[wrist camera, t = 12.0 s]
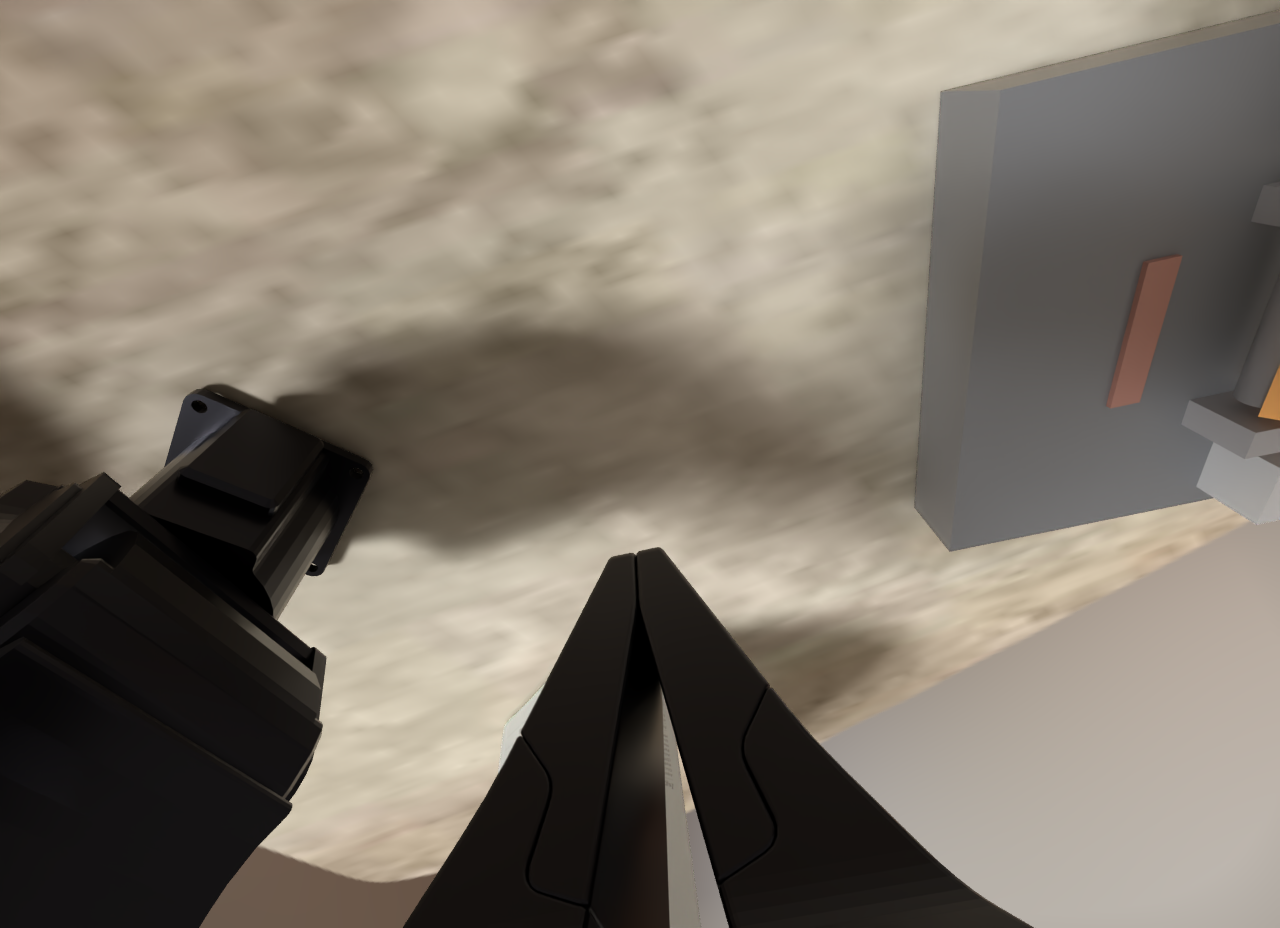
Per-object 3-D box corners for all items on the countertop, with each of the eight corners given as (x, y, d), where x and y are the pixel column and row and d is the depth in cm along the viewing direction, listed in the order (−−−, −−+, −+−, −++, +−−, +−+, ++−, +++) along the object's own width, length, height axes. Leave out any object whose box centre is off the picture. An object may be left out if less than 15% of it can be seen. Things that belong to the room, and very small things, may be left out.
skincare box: (577, 637, 29) (567, 1051, 16) (674, 675, 31) (732, 1068, 18) (499, 727, 32) (442, 1128, 20) (592, 756, 34) (594, 1134, 22)
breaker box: (914, 507, 26) (983, 594, 21) (941, 91, 17) (1065, 88, 13) (1235, 441, 25) (1377, 516, 21) (1426, -26, 17) (1740, -73, 12)
